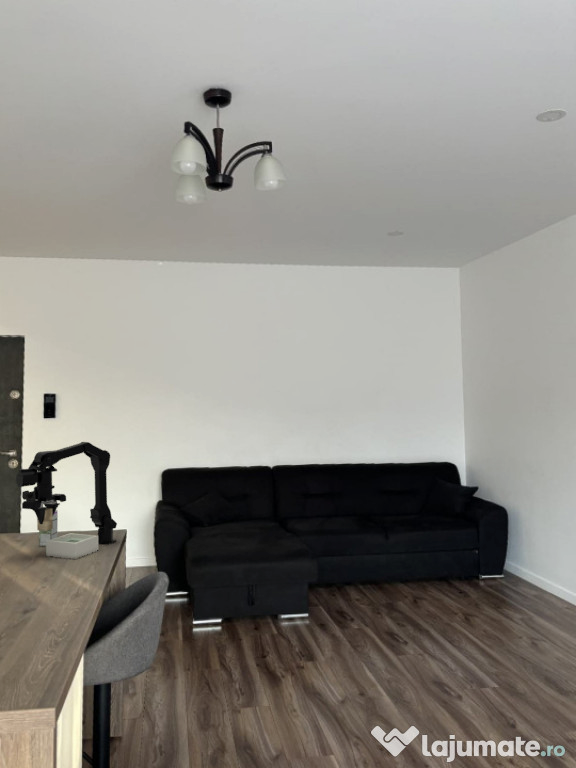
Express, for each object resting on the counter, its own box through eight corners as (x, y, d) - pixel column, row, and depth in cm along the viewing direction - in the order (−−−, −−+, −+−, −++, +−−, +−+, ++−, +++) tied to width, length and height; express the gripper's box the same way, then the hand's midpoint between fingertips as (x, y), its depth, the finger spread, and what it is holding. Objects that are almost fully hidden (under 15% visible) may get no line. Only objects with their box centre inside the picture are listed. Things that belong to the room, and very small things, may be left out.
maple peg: (44, 527, 252) (44, 508, 252) (52, 528, 251) (52, 508, 251) (37, 530, 249) (37, 509, 249) (45, 530, 247) (45, 510, 247)
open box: (70, 547, 261) (70, 533, 261) (98, 550, 256) (98, 535, 256) (46, 556, 248) (46, 540, 248) (75, 559, 243) (75, 543, 243)
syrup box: (58, 543, 269) (58, 509, 269) (51, 546, 263) (51, 512, 263) (45, 543, 269) (45, 509, 269) (38, 546, 263) (38, 511, 263)
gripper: (45, 479, 261) (45, 517, 261) (10, 486, 244) (11, 526, 244) (66, 480, 257) (67, 518, 257) (33, 487, 240) (34, 528, 240)
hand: (45, 523), depth 250 cm, fingers closed on maple peg, 4 cm apart
